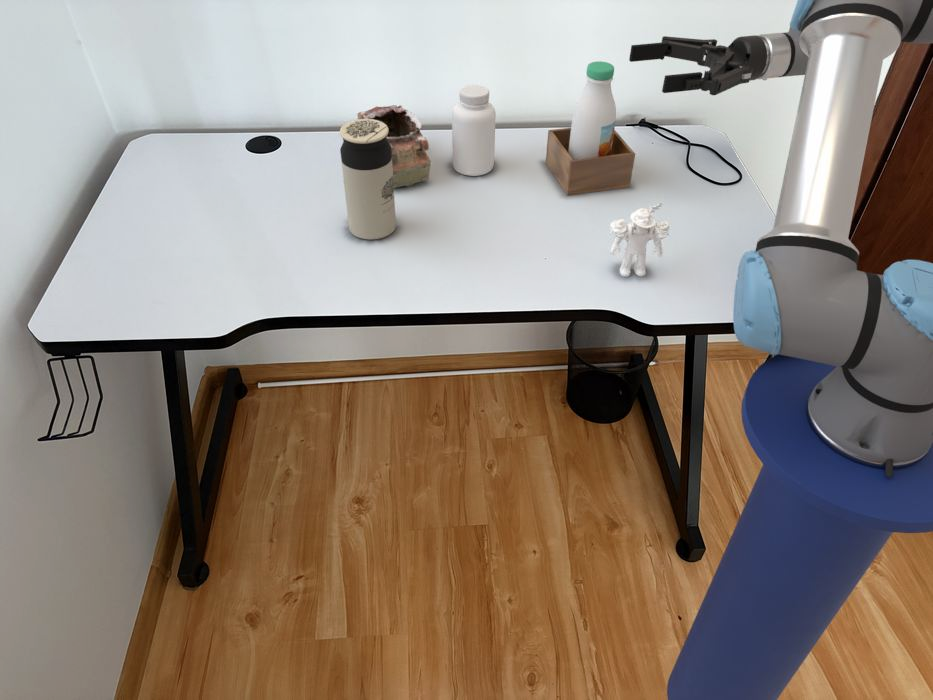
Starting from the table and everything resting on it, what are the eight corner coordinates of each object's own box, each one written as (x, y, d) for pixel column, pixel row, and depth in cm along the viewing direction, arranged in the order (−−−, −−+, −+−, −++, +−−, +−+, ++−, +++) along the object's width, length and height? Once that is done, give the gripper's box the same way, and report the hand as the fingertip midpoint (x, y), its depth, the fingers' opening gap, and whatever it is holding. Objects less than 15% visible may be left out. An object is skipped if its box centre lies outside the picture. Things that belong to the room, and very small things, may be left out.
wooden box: (629, 187, 139) (635, 153, 135) (567, 195, 137) (571, 161, 132) (604, 155, 148) (609, 123, 143) (545, 162, 146) (548, 130, 141)
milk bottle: (581, 185, 138) (595, 78, 125) (558, 166, 143) (569, 61, 130) (615, 175, 141) (633, 70, 127) (592, 157, 146) (606, 53, 132)
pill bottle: (473, 152, 149) (475, 77, 138) (502, 167, 144) (506, 91, 134) (443, 165, 145) (442, 89, 134) (472, 181, 140) (473, 104, 130)
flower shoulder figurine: (658, 264, 122) (672, 199, 114) (662, 279, 119) (677, 214, 111) (602, 263, 122) (612, 198, 114) (604, 278, 119) (615, 212, 111)
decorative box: (361, 197, 136) (356, 148, 129) (343, 146, 150) (338, 99, 143) (432, 188, 138) (431, 139, 132) (408, 138, 153) (406, 91, 146)
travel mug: (339, 229, 128) (327, 131, 116) (371, 209, 133) (362, 112, 121) (374, 246, 125) (365, 146, 112) (405, 225, 129) (400, 127, 117)
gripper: (789, 107, 129) (675, 120, 125) (717, 52, 146) (615, 62, 142) (802, 63, 124) (684, 75, 120) (726, 12, 141) (621, 21, 137)
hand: (646, 68), depth 131 cm, fingers open, 13 cm apart
